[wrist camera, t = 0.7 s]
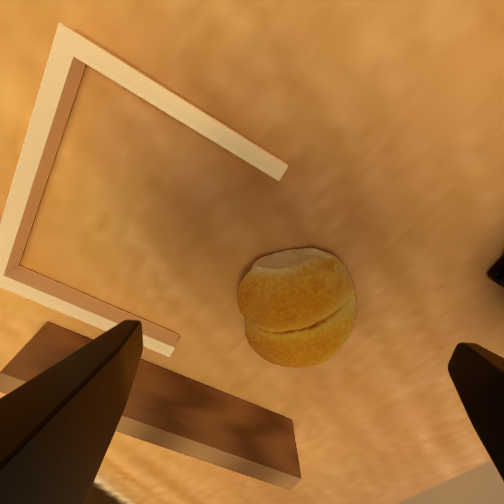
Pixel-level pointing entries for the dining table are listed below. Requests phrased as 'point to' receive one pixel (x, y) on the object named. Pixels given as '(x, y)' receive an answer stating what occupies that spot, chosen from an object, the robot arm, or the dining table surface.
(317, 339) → the bread roll
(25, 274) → the serving bay
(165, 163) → the dining table surface
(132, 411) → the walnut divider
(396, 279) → the dining table surface
